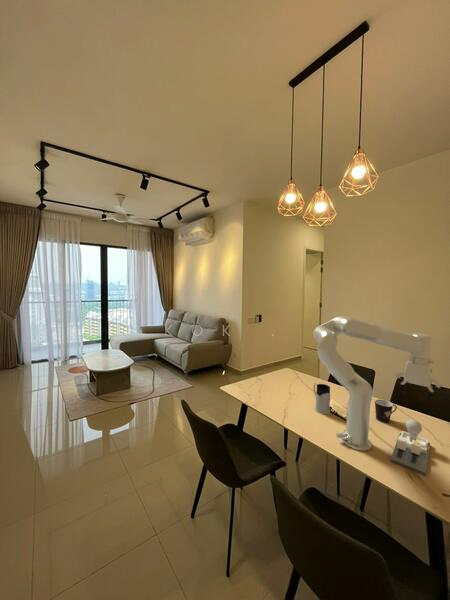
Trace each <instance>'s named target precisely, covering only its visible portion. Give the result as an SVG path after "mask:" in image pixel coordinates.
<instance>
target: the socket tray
mask: <svg viewBox="0 0 450 600" xmlns="http://www.w3.org/2000/svg"><path fill="white" fill-rule="evenodd" d="M400 433H401V436H402V437H404V438H407V446H408V447H411V444H412V442H411V441H410V437H409V432H407V431H404V430H402V431H401V432H400ZM416 441H419V442H421V447H420V451H422V452H424V453H426V451H427V445H428V442H429V439H427V438H424V437H421V436H419V435H418V436H417V439H416Z"/></svg>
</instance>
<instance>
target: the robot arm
mask: <svg viewBox="0 0 450 600" xmlns="http://www.w3.org/2000/svg"><path fill="white" fill-rule="evenodd" d="M340 334H342V335H345V336H347V337H351V338H353V339H354V338H356V339H359V340H362V341H366V342H369V343H373V344H377V345H381V346H385V347H389V348H391V349H392V348H393V349H395V350H400V351H402V352H407V353H409V357H408V359H409V360H406V363H405V369H404V371H402V372H397V373H395V374H394V376H395V378H396V380H397V381H398V382H399V383H400V387H401V388H400V391H401V393H402V394H405V393H406V383H409V384H414V385H417V386H421V387H425V388H427V389H428V393H427V395H428V396H427V400H428V401H431V399H433V394H434V392H436V391H437V390H439V389H440V388H441V387H442V382H441V381H438V380H437V379H435V378H434V377H433V367H432V365H431V364H434V362H435V360H433V359H431V350H432V349H431V348H432V336H431V335H429V334H426V333H417V332H415V333H411V332H410V333H409V332H404V331H396V330H392V329H390V328H387V327H385V326H383V325H378V324H376V323H372V322H368V321H364V320H360V319H356V318H352V317H349V316H346V315H340V316H337V317H334V318H332V319H330V320H328V321H327V322H324V323H322V324H320V325H318V326H317V327H316V328H315V329H314V330H313V333H312V337H313V339H314V341H315V342H317V343H318V346H317V356H318V359H319V360H320V361H321V363H323V365H324V366H325V367H326V368H327V371H328V372H329V373H330V375H332V377H334V379H335V380H337V382H338V383H339V384H340V385H341V386H342V387H343V388H344V389H345V390H346V391H347V392H348V393H349V397H348V400H347V403H346V404H347V405H346V406H347V407H346V424H345V425H346V426H345V429H344V430H343V432H341V433H340V432H338V433H337V432H336V433H335V437H336V438H337V439H341V441H343V443H344V444H345V445H346V446H348V447H350V448H351V449H354V450H356V451H365V452H366V451H370V450H371V449H372V446H373V444H372V442H371V440H370V439H369V430H370V413H371V412H370V411H371V403H372V399H373V396H374V390H373V387H372V385H371V384H370V383H369V382H368V381H367V380H366V379H365V378H363V377H361V376H360V375H359V374H358V373H357V372H356V371H355V370H354V367H353V366H352V365H351V364H350V363H349V362H347V361H346V360H345V359H344V358H343V357H342V355H340V353H339V352H338V351H337V346H338V345H337V344H338V335H340ZM401 376H403V379H402V378H401ZM432 383H434V384H435V386H434V387H433V386H432Z"/></svg>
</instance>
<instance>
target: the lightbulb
mask: <svg viewBox="0 0 450 600" xmlns="http://www.w3.org/2000/svg"><path fill="white" fill-rule="evenodd" d="M405 427H406V429H407V431H408V432H407V433H409V437H410V441H411V442H412V440H416V439H417V436H419V434H420V433H421V432H422V430H423V427H422V425H421V423H420V422H419V421H417V420H416V419H408V420H406V423H405Z"/></svg>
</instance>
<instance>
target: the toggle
mask: <svg viewBox="0 0 450 600" xmlns="http://www.w3.org/2000/svg"><path fill="white" fill-rule="evenodd" d="M398 437H399V438H397V440H398V444H397V448H399V449H402V450H404V451H405V450H406V446H407V438H404V437H402V436H399V435H398Z"/></svg>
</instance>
